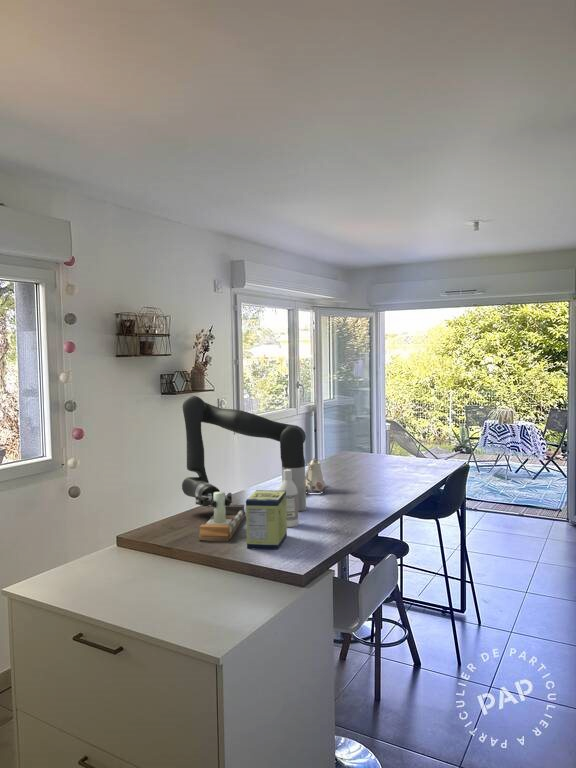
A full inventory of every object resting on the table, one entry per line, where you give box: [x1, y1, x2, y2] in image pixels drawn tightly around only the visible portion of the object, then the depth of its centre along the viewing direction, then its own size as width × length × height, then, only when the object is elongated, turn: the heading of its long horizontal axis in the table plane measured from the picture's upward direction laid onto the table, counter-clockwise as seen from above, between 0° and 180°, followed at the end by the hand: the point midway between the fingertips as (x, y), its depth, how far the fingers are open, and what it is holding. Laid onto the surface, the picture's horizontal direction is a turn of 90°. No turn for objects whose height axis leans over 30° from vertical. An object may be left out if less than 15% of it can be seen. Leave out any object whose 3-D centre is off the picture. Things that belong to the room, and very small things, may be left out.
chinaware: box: [305, 456, 327, 493], centre depth 265 cm, size 28×17×17 cm, turn 154°
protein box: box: [245, 489, 288, 550], centre depth 192 cm, size 10×16×16 cm
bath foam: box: [278, 469, 299, 528], centre depth 211 cm, size 7×7×20 cm
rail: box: [198, 504, 246, 542], centre depth 210 cm, size 32×10×4 cm, turn 174°
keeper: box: [208, 491, 232, 525], centre depth 204 cm, size 6×7×12 cm
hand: (222, 503), depth 201 cm, fingers closed on keeper, 4 cm apart
